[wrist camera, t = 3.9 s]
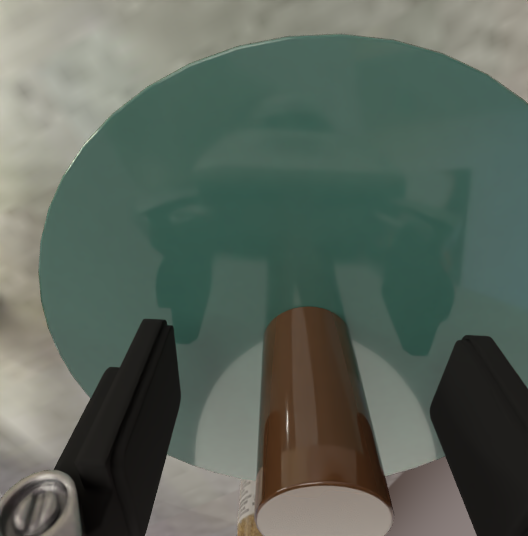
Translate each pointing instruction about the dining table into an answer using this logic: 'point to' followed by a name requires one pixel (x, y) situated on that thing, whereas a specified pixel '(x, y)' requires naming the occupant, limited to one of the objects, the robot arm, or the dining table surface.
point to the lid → (299, 259)
